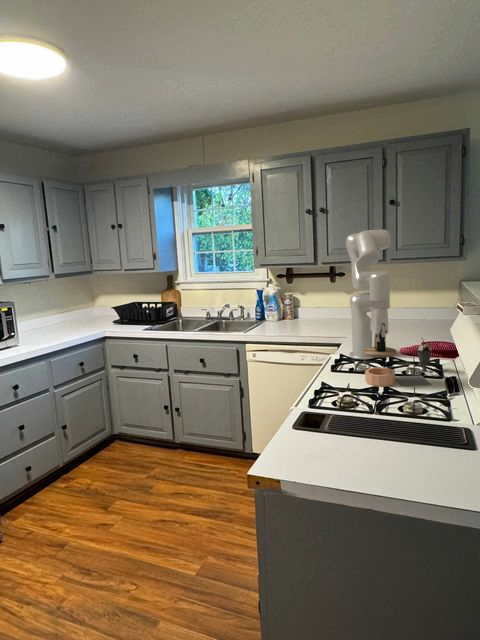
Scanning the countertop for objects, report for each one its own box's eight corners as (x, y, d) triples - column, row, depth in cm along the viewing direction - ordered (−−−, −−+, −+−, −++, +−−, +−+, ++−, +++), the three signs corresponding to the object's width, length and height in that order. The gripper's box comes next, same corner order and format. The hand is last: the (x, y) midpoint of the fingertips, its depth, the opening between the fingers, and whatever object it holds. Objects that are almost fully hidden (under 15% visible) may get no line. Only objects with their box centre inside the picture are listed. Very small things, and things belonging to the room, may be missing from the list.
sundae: (419, 369, 195) (420, 335, 192) (435, 371, 190) (435, 337, 187) (413, 372, 190) (413, 338, 188) (428, 375, 186) (429, 340, 183)
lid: (361, 350, 184) (360, 335, 183) (391, 348, 183) (391, 334, 182) (367, 358, 172) (367, 342, 171) (400, 356, 171) (400, 341, 170)
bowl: (363, 379, 186) (362, 368, 185) (390, 378, 185) (390, 366, 184) (369, 388, 175) (368, 376, 174) (398, 387, 174) (398, 375, 173)
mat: (392, 378, 185) (392, 376, 185) (421, 376, 185) (421, 375, 184) (400, 387, 174) (400, 386, 174) (432, 386, 173) (432, 385, 173)
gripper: (365, 302, 182) (365, 345, 186) (375, 308, 166) (375, 355, 169) (383, 301, 182) (384, 344, 185) (395, 307, 166) (395, 354, 169)
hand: (379, 349), depth 177 cm, fingers closed on lid, 3 cm apart
